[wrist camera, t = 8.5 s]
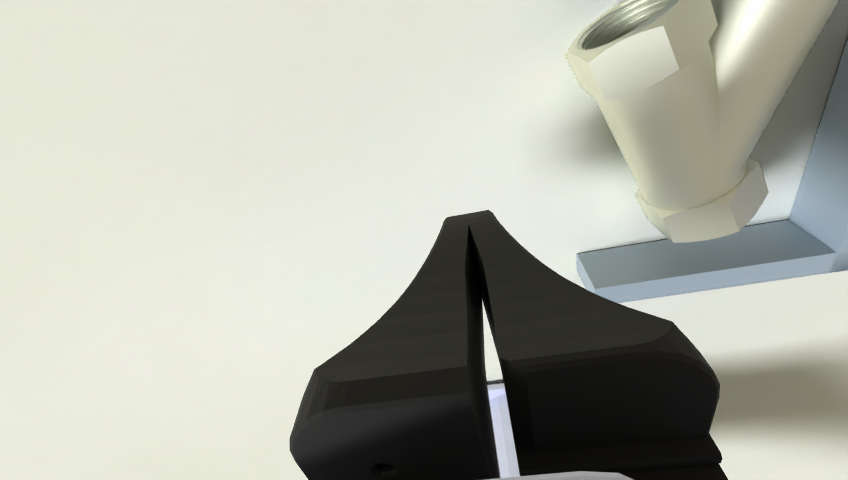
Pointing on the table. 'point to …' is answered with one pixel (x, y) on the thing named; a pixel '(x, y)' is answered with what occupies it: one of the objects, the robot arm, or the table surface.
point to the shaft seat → (747, 232)
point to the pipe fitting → (695, 99)
